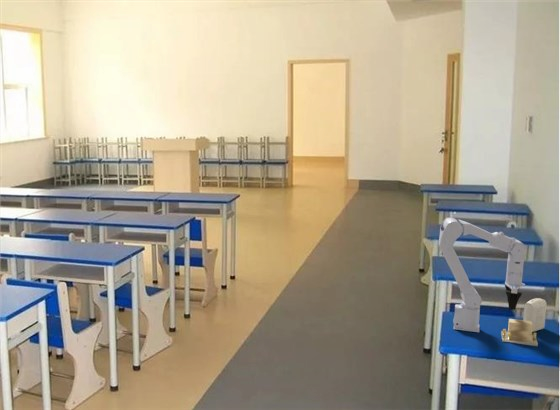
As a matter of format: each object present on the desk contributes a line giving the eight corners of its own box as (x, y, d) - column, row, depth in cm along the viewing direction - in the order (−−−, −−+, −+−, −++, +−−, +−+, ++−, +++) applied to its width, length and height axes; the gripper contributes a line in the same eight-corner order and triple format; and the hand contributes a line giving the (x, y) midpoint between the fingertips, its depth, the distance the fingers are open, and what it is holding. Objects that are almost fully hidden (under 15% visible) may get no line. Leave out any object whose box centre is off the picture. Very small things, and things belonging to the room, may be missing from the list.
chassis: (502, 341, 216) (502, 333, 216) (501, 332, 225) (502, 324, 224) (537, 346, 213) (538, 337, 212) (535, 337, 221) (536, 329, 221)
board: (508, 337, 218) (509, 322, 217) (507, 333, 222) (509, 318, 221) (531, 340, 215) (532, 325, 214) (530, 336, 219) (532, 321, 218)
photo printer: (536, 325, 234) (539, 295, 232) (545, 328, 230) (549, 298, 228) (520, 330, 228) (523, 299, 226) (530, 333, 224) (533, 302, 222)
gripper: (527, 278, 215) (524, 313, 217) (524, 268, 229) (521, 301, 231) (506, 276, 217) (503, 311, 220) (505, 266, 231) (502, 299, 233)
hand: (511, 306), depth 225 cm, fingers open, 7 cm apart
